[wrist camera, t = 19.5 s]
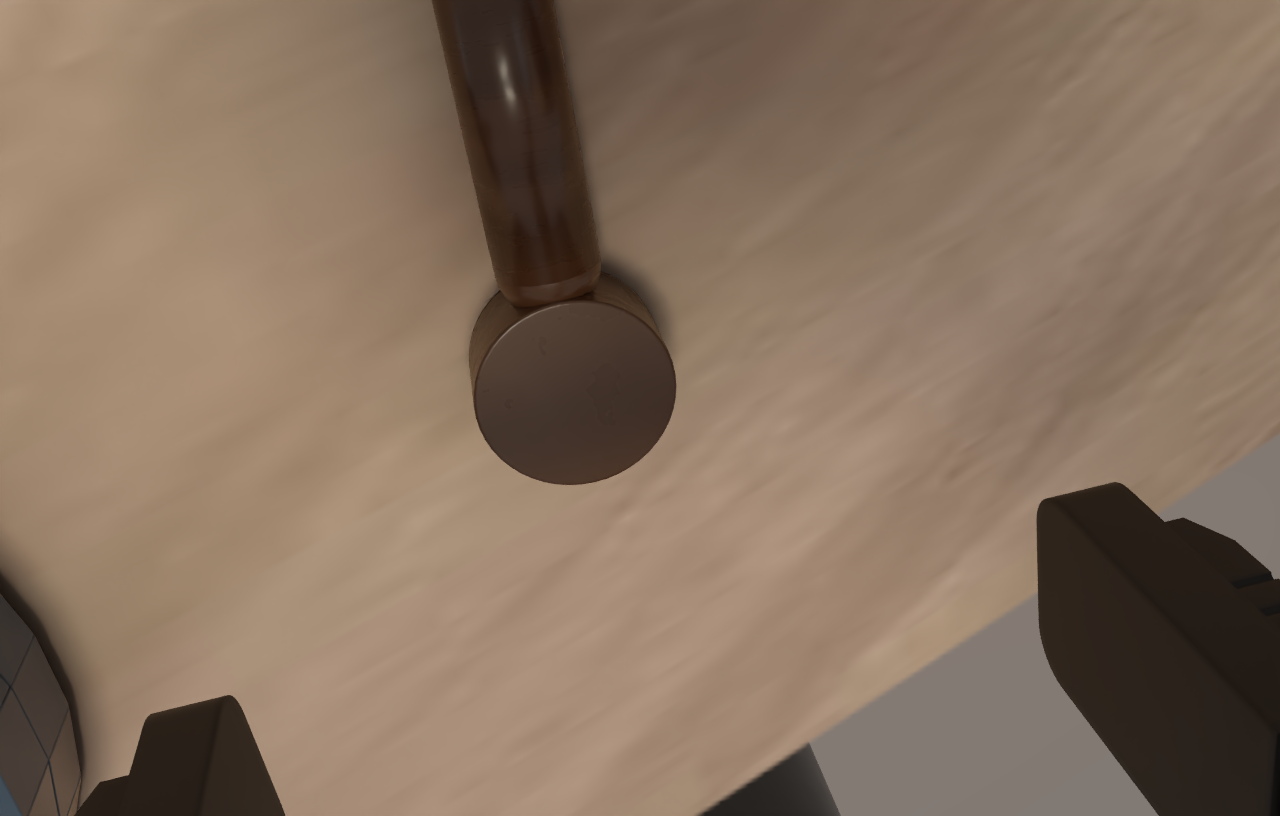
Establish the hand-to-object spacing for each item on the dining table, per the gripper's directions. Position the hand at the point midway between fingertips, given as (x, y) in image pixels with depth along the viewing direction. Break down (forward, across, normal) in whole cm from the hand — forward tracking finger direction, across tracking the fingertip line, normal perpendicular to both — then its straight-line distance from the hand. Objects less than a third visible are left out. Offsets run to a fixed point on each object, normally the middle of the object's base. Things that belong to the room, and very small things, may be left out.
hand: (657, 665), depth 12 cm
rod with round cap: (+20, 0, 0) cm, 20 cm away
